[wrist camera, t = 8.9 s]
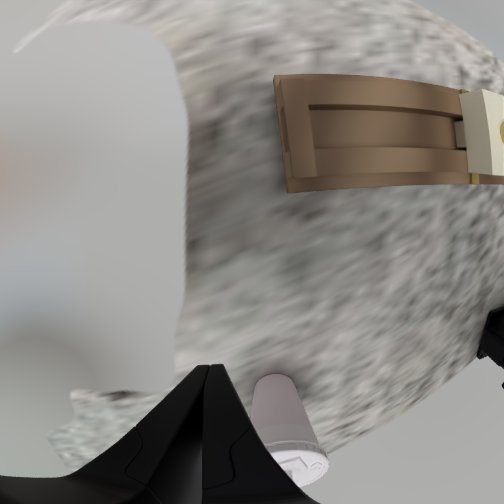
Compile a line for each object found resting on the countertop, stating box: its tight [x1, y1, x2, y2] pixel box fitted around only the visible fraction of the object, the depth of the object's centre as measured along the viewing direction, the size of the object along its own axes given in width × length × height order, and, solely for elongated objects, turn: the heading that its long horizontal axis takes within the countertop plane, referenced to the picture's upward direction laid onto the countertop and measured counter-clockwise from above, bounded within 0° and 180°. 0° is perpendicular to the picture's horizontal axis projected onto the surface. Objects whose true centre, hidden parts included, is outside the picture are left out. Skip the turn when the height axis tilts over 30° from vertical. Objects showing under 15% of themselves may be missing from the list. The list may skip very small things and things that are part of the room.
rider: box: [454, 89, 504, 176], centre depth 13 cm, size 4×5×5 cm
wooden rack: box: [273, 74, 504, 193], centre depth 16 cm, size 20×7×6 cm, turn 97°
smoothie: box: [250, 374, 329, 487], centre depth 18 cm, size 6×6×14 cm
